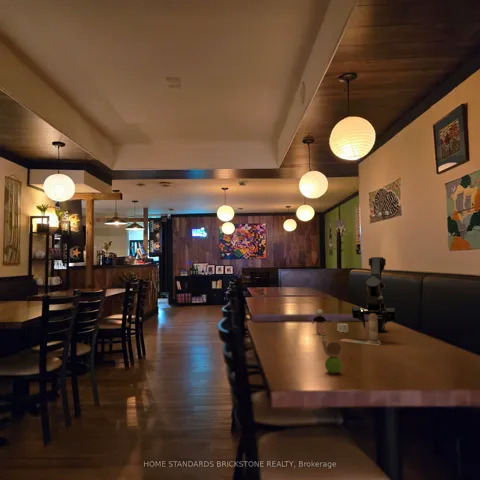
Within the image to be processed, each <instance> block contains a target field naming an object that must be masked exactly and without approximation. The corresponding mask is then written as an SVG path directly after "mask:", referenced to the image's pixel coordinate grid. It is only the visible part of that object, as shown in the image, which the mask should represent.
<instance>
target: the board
mask: <svg viewBox="0 0 480 480" xmlns="http://www.w3.org/2000/svg"><path fill="white" fill-rule="evenodd" d="M339 342H347V343H355V344H364V345H369V344H368V343H367V340H359V339H358V340H357V339H350V338H349V339H348V338H342V339H340V340H339ZM381 344H382V342H380V344H377V345H376V346H380V345H381ZM370 345H374V344H370ZM374 346H375V345H374Z"/></svg>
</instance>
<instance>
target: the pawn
mask: <svg viewBox="0 0 480 480" xmlns="http://www.w3.org/2000/svg"><path fill="white" fill-rule="evenodd" d="M377 319H378V317H377V315H376V314H375V313H371V314H370V315H368V339H367V340H366V341H367V343H368V344H367V345H371V344H374V346H378V345H377V344H380V343H381V341H380V340H379V332H378V320H377ZM380 345H381V344H380Z"/></svg>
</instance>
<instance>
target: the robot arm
mask: <svg viewBox="0 0 480 480" xmlns="http://www.w3.org/2000/svg"><path fill="white" fill-rule="evenodd" d="M386 264H387V262H386V258H385V257H383V256H377V257H376V256H373V257H370V258H368V266H370V276H368V278H367V279H366V282H365V288H366V290H367V291H366V292H367V296H366V309H364V308H362V307H361V306H352V307H351V315H352V318H353V319H356V320H358V321H360V322H361V323H362V326H363V329H366V327H367V326H366V318H365V315H367V316H369V315H370V314H371V313H375V314H376V315H377V317H378V319H377V320H378V333H385V332H388V330H386V327H385V326H386V324H387V323H388V322H390V321H397V311H396V310H397V309H396V308H395V307H386V305H385V304H384V296H383V290H384V288H385V287H386V286H385V283H384V281H383V280H382V279H383V278H382V274H383V272H384V270H385V267H386Z"/></svg>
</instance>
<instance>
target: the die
mask: <svg viewBox="0 0 480 480" xmlns="http://www.w3.org/2000/svg"><path fill="white" fill-rule="evenodd" d="M336 331H339V332H338V333H342V332H344V333H349V324H348V323H344V322H343V323H337V324H336Z"/></svg>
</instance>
